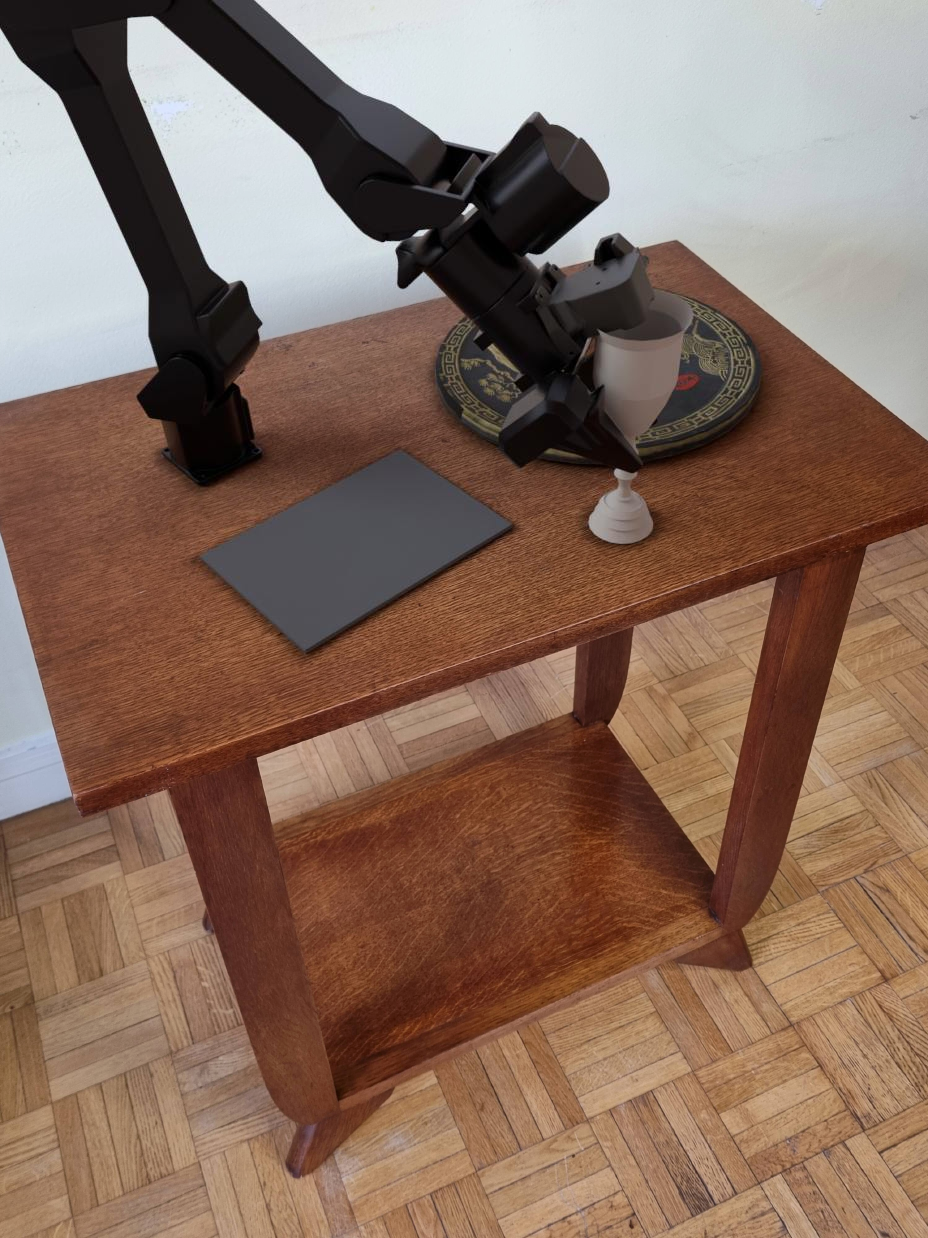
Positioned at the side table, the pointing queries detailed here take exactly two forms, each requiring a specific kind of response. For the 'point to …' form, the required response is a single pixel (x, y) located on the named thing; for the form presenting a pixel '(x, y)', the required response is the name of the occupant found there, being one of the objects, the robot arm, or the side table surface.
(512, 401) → the decorative plate
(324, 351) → the side table surface
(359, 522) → the felt mat
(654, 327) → the chalice
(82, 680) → the side table surface
